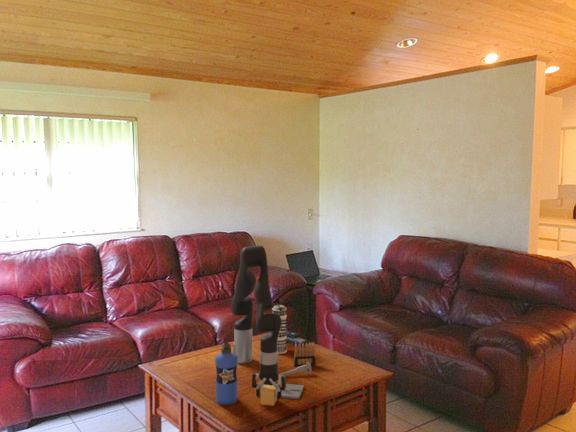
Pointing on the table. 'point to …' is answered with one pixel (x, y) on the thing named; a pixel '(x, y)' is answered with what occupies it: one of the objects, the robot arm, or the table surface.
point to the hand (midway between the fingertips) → (268, 398)
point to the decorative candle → (282, 333)
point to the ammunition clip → (304, 355)
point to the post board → (291, 391)
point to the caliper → (299, 370)
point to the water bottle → (226, 376)
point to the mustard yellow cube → (268, 395)
